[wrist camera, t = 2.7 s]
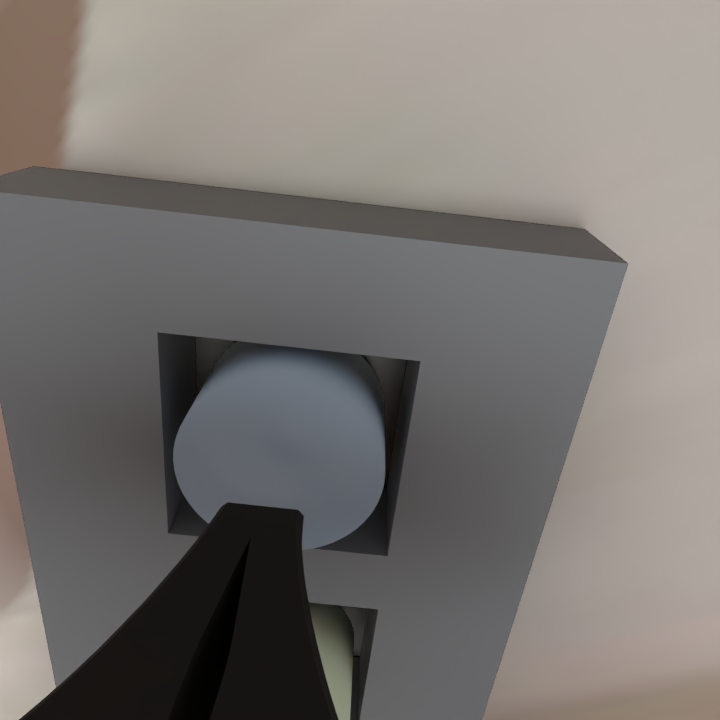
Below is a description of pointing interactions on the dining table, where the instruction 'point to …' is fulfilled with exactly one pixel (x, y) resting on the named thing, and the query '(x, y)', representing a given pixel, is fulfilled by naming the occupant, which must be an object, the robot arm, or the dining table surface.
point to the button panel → (310, 331)
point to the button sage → (335, 652)
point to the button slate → (286, 438)
